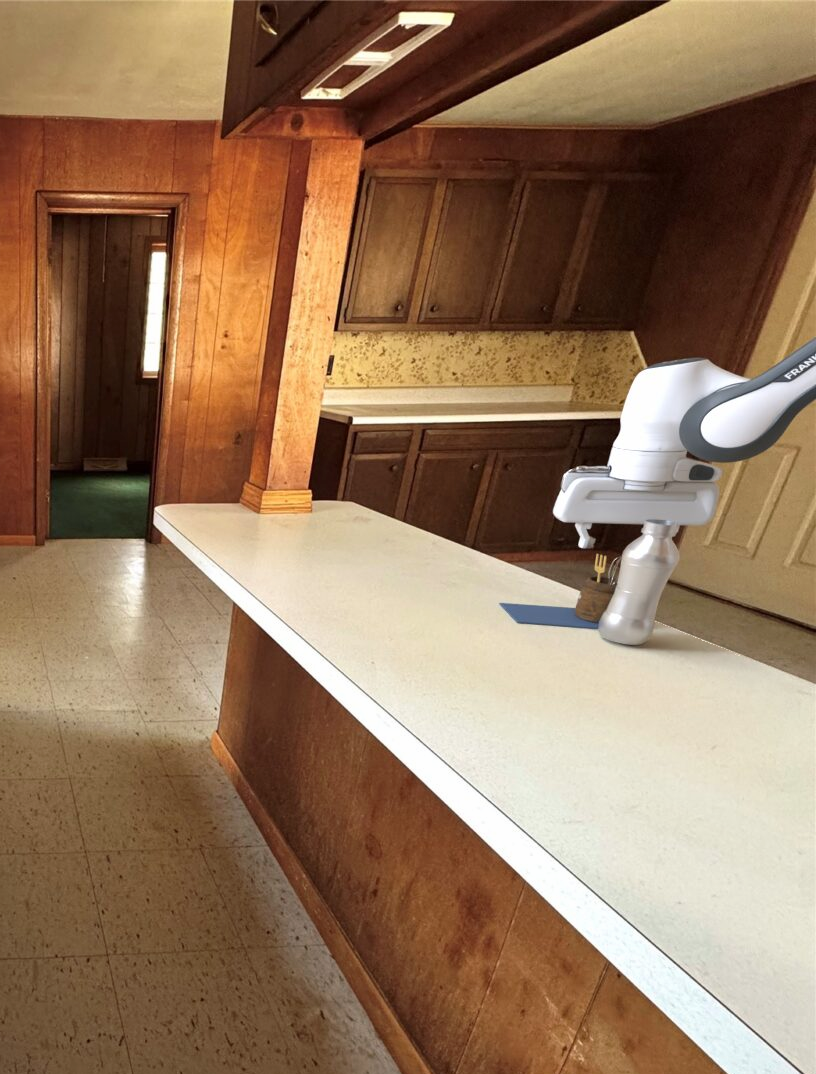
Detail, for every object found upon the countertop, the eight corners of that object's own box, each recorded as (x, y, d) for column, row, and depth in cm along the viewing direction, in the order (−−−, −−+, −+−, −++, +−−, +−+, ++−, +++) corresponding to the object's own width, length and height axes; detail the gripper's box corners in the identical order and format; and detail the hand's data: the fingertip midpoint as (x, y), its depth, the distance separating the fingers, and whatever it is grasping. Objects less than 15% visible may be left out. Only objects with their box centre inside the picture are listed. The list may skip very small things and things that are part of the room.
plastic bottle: (584, 632, 111) (621, 516, 104) (629, 633, 110) (670, 516, 103) (611, 649, 105) (652, 527, 98) (659, 650, 104) (703, 528, 97)
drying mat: (602, 611, 119) (603, 609, 118) (628, 631, 111) (629, 630, 110) (499, 604, 123) (499, 602, 123) (517, 623, 115) (517, 621, 115)
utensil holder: (626, 621, 113) (648, 555, 109) (599, 627, 112) (620, 560, 107) (589, 609, 119) (609, 545, 114) (563, 614, 117) (582, 550, 113)
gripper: (574, 469, 106) (553, 551, 111) (736, 470, 100) (706, 557, 105) (557, 462, 111) (538, 541, 116) (710, 463, 105) (683, 545, 110)
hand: (619, 548), depth 111 cm, fingers open, 8 cm apart
